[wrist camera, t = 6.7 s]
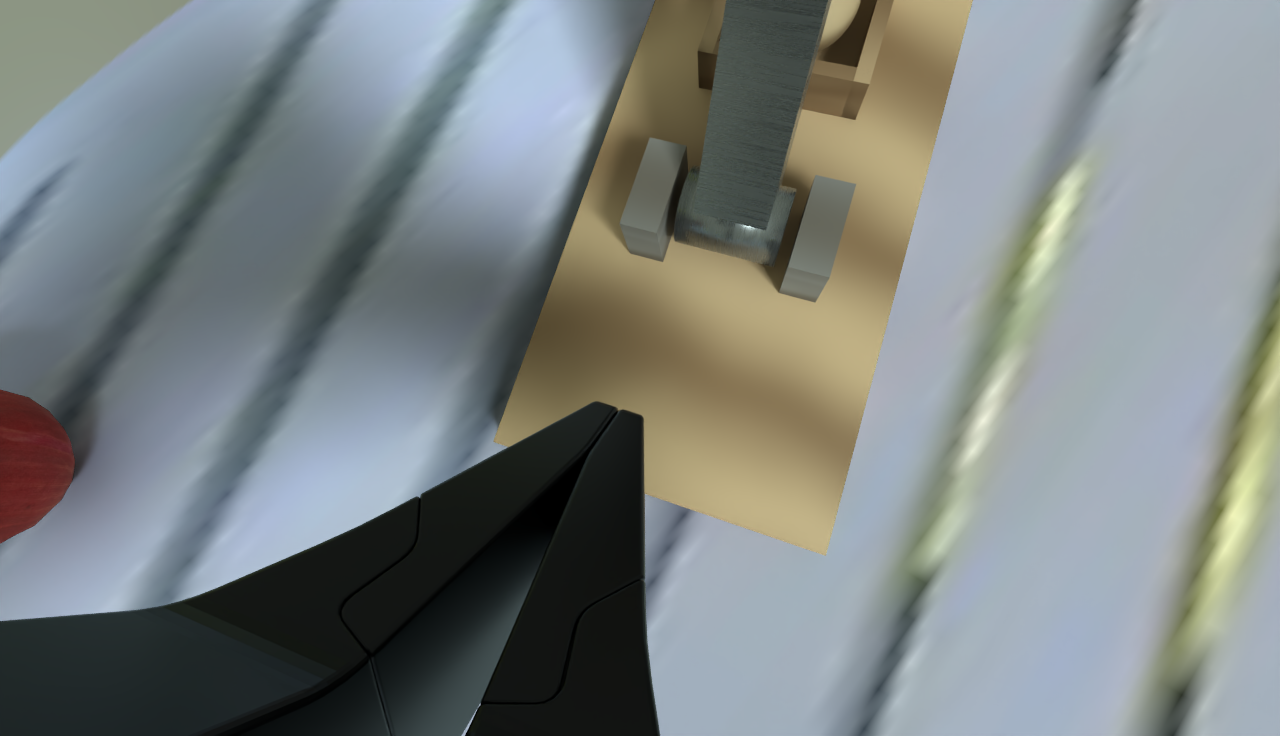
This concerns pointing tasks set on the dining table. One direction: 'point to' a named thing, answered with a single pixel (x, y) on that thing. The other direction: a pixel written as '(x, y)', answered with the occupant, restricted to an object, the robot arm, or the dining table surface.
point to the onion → (30, 463)
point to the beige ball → (838, 21)
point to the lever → (751, 129)
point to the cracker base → (745, 272)
